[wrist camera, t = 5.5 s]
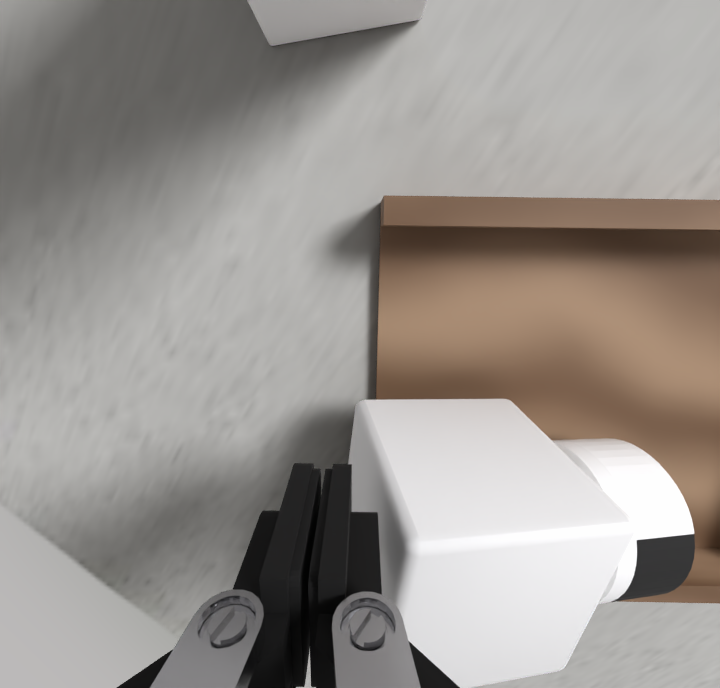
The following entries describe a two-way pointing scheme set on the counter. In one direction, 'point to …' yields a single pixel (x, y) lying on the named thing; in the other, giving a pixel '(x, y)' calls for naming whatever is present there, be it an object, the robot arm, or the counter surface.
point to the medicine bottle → (509, 531)
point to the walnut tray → (567, 327)
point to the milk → (329, 17)
